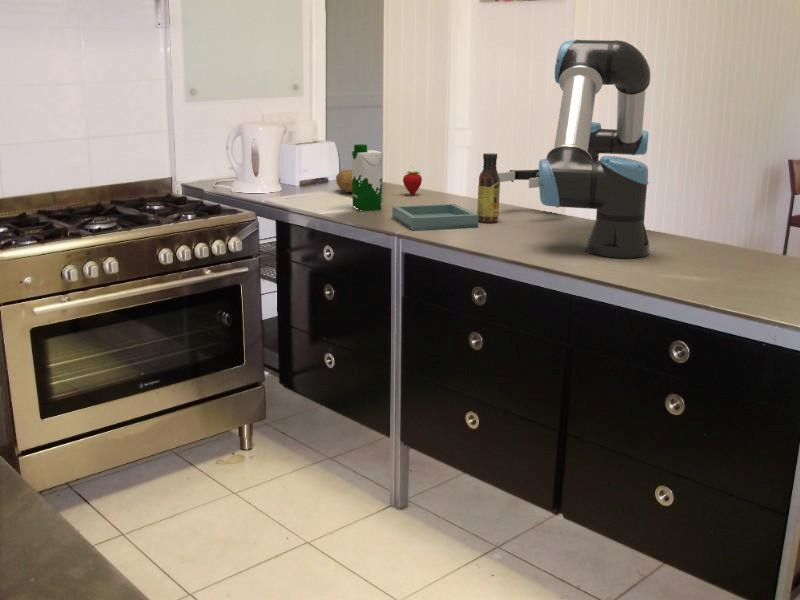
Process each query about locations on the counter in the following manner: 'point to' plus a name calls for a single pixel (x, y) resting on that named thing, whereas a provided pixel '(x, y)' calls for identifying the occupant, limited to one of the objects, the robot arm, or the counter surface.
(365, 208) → the milk carton
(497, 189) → the sauce bottle
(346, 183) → the potato
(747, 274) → the counter surface
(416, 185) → the strawberry
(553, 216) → the counter surface
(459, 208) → the tray
